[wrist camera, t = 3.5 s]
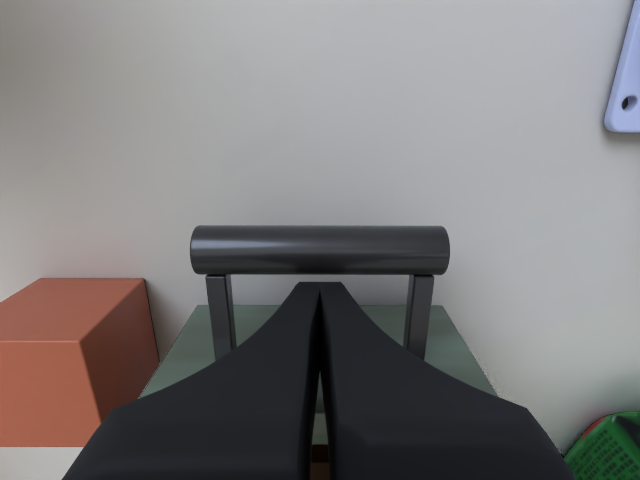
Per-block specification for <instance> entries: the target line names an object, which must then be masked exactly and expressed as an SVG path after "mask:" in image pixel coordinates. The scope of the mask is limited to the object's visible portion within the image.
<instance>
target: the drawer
mask: <svg viewBox="0 0 640 480" xmlns="http://www.w3.org/2000/svg"><path fill="white" fill-rule="evenodd" d="M190 258H191V264H192V267H193V270H194V272H195V273H197V274H207V276H206V286H207V294H208V303H209V305H197V307H196V308H195V310H194V311H193V313H192V315H191V316H190V318H189V319H188V321H187V323H186V324H185V326H184V328H183V329H182V331H181V332H180V334H179V336H178V337H177V339H176V340H175V342H174V344H173V345H172V347H171V348H170V350H169V352H168V353H167V355H166V357H165V358H164V360H163V361H162V363H161V365H160V366H159V368H158V369H157V371H156V373H155V374H154V376H153V377H152V379H151V381H150V382H149V384H148V386H147V387H146V389H145V390H144V392H143V394H142V395H141V397H140V398H142V397H144V396H147V395H149V394H151V393H154V392H156V391H159V390H161V389H163V388H166V387H168V386H170V385H172V384H174V383H176V382H178V381H180V380H182V379H184V378H186V377H188V376H190V375H192V374H194V373H196V372H198V371H200V370H201V369H203V368H205V367H207V366H209V365H210V364H212V363H213V362H215V361H216V360H218V359H220V358H221V357H223V356H224V355H226V354H227V353H229V352H230V351H232V350H234V349H235V348H236V347H238V346H239V345H240V344H242V343H243V342H244V341H246V340H247V339H248V338H249V337H251V336H252V335H253V334H254V333H255V332H256V331H257V330H258V329H259V328H260V327H261V326H262V325H263V324H264V323H265V322H266V321H267V320H268V319H269V318H270V317H271V316H272V315H273V314H274V313H275V312H276V311H277V309H278V308H279V307H280V306H281V305H233V299H232V288H231V277H230V274H292V275H409V286H408V296H407V306H404V305H359V306H360V307H361V309H362V310H363V311H364V312H365V313H366V314H367V315H368V316H369V318H370V319H371V320H372V321H373V322H374V323H375V324H376V325H377V326H378V327H379V328H380V329H382V330H383V331H384V332H385V333H386V334H387V335H389V336H390V337H391V338H392V339H394V340H395V341H396V342H398V343H399V344H400V345H401V346H403V347H404V348H405V349H407V350H408V351H410V352H411V353H413V354H414V355H416V356H417V357H419V358H421V359H422V360H424V361H425V362H427V363H429V364H430V365H432V366H434V367H435V368H437V369H439V370H441V371H443V372H445V373H446V374H448V375H450V376H452V377H454V378H456V379H458V380H460V381H462V382H464V383H466V384H469V385H471V386H473V387H475V388H477V389H479V390H482V391H484V392H487V393H489V394H492V395H494V396H497V397H498V395H497V394H496V392H495V390H494V389H493V387H492V385H491V384H490V382H489V381H488V379H487V377H486V376H485V374H484V372H483V371H482V369H481V368H480V366H479V364H478V363H477V361H476V359H475V358H474V356H473V355H472V353H471V351H470V350H469V348H468V346H467V345H466V343H465V342H464V340H463V338H462V337H461V335H460V334H459V332H458V330H457V329H456V327H455V325H454V324H453V322H452V321H451V319H450V317H449V316H448V314H447V312H446V311H445V309H444V308H443V306H431V301H432V293H433V285H434V276H433V275H442V274H444V273H445V272H446V270H447V268H448V264H449V258H450V243H449V238H448V234H447V231H446V229H445V228H444V227H442V226H206V225H199V226H197V227H196V228H195V229H194V231H193V233H192V237H191V243H190ZM311 463H329V451H328V438H327V429H326V420H325V411H324V402H323V393H322V384H321V375H319V384H318V393H317V402H316V411H315V420H314V429H313V438H312V451H311Z"/></svg>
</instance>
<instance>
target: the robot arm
mask: <svg viewBox="0 0 640 480" xmlns="http://www.w3.org/2000/svg"><path fill="white" fill-rule="evenodd" d="M626 97H627V98H628V105H627V107H626V108H625V109H624V110H623V108H622V102H623V100H624V99H625V98H626ZM604 125H605V127H606V129H608V130H609V131H612V132H619V133H640V0H635V1H634V5H633V8H632V12H631V16H630V20H629V24H628V28H627V32H626V36H625V40H624V44H623V47H622V51H621V55H620V59H619V63H618V67H617V71H616V75H615V79H614V83H613V86H612V90H611V94H610V98H609V102H608V106H607V110H606V114H605V118H604ZM319 375H321V384H322V393H323V402H324V411H325V420H326V429H327V438H328V451H329V480H575V477H574V473H573V472H572V470H571V469H570V467H569V466H568V465H567V463H566V462H565V460H564V459H563V457H562V456H561V454H560V453H559V451H558V450H557V448H556V447H555V445H554V444H553V442H552V441H551V439H550V438H549V436H548V435H547V433H546V432H545V431H544V429H543V428H542V427H541V426H540V424H539V423H538V422H537V421H536V419H535V418H534V417H533V416H532V414H531V413H530V412H529V411H528V409H527V408H525V407H522V406H520V405H517V404H515V403H512V402H510V401H507V400H504V399H502V398H499V397H497V396H494V395H492V394H489V393H487V392H484V391H482V390H479V389H477V388H475V387H473V386H471V385H469V384H466V383H464V382H462V381H460V380H458V379H456V378H454V377H452V376H450V375H448V374H446V373H445V372H443V371H441V370H439V369H437V368H435V367H434V366H432V365H430V364H429V363H427V362H425V361H424V360H422V359H421V358H419V357H417V356H416V355H414V354H413V353H411V352H410V351H408V350H407V349H405V348H404V347H403V346H401V345H400V344H399V343H398V342H396V341H395V340H394V339H392V338H391V337H390V336H389V335H387V334H386V333H385V332H384V331H383V330H382V329H380V328H379V327H378V326H377V325H376V324H375V323H374V322H373V321H372V320H371V319H370V318H369V316H368V315H367V314H366V313H365V312H364V311H363V310H362V309H361V307H360V306H359V305H358V304H357V303H356V301H355V300H354V299H353V297H352V296H351V295H350V293H349V292H348V291H347V289H346V288H345V286H344V285H343V284H342V283H341V282H299V283H298V284H297V285H296V286H295V287H294V289H293V290H292V292H291V293H290V295H289V296H288V297H287V299H286V300H285V301H284V302H283V304H282V305H281V306H280V307H279V308H278V309H277V311H276V312H275V313H274V314H273V315H272V316H271V317H270V318H269V319H268V320H267V321H266V322H265V323H264V324H263V325H262V326H261V327H260V328H259V329H258V330H257V331H256V332H255V333H254V334H253V335H252V336H251V337H249V338H248V339H247V340H246V341H244V342H243V343H242V344H240V345H239V346H238V347H236V348H235V349H234V350H232V351H230V352H229V353H227V354H226V355H224V356H223V357H221V358H220V359H218V360H216V361H215V362H213V363H212V364H210V365H209V366H207V367H205V368H203V369H201V370H200V371H198V372H196V373H194V374H192V375H190V376H188V377H186V378H184V379H182V380H180V381H178V382H176V383H174V384H172V385H170V386H168V387H166V388H163V389H161V390H159V391H156V392H154V393H151V394H149V395H147V396H144V397H142V398H139V399H137V400H134V401H132V402H129V403H127V404H124V405H122V406H119V407H116V408H113V409H112V410H111V412H110V413H109V414H108V416H107V417H106V418H105V419H104V421H103V422H102V423H101V424H100V426H99V427H98V428H97V429H96V431H95V432H94V433H93V435H92V436H91V438H90V439H89V441H88V442H87V444H86V445H85V447H84V448H83V450H82V451H81V452H80V454H79V455H78V457H77V458H76V460H75V461H74V463H73V464H72V466H71V467H70V469H69V470H68V471H67V473H66V474H65V476H64V477H63V479H62V480H311V451H312V438H313V429H314V420H315V411H316V402H317V393H318V384H319Z"/></svg>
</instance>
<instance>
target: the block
mask: <svg viewBox="0 0 640 480" xmlns="http://www.w3.org/2000/svg"><path fill="white" fill-rule="evenodd" d="M158 365H159V359H158V353H157V348H156V342H155V337H154V331H153V326H152V320H151V315H150V309H149V304H148V298H147V293H146V287H145V282H144V279H94V278H40V279H38V280H37V281H35V282H33V283H32V284H30V285H28V286H27V287H25V288H24V289H22V290H20V291H19V292H17V293H15V294H14V295H12V296H10V297H9V298H7V299H6V300H4V301H2V302H1V303H0V447H85V445H86V444H87V442H88V441H89V439H90V438H91V436H92V435H93V433H94V432H95V431H96V429H97V428H98V427H99V426H100V424H101V423H102V422H103V421H104V419H105V418H106V417H107V416H108V414H109V413H110V412H111V410H112V409H113V408H116V407H119V406H122V405H124V404H127V403H129V402H132V401H134V400H137V399H138V397H139V396H140V394H141V393H142V391H143V389H144V388H145V386H146V385H147V383H148V381H149V380H150V378H151V377H152V375H153V373H154V372H155V370H156V369H157V367H158Z"/></svg>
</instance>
